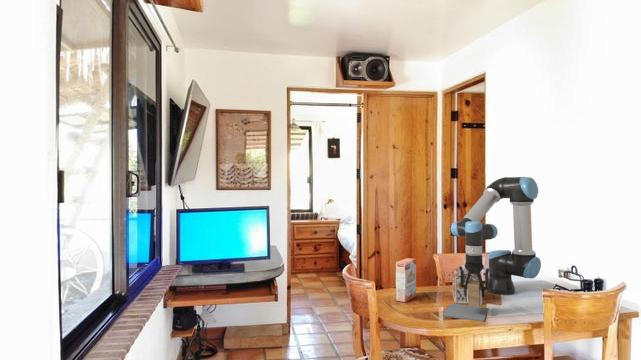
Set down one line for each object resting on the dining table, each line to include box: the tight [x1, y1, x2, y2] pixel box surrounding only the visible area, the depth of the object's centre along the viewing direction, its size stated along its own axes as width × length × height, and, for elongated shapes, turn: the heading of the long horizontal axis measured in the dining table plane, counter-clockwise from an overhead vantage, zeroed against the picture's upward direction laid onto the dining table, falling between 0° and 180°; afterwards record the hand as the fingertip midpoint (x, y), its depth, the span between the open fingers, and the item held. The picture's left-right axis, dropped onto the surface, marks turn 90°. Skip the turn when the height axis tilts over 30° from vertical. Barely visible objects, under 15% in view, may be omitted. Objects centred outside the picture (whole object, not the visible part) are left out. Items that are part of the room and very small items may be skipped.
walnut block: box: [467, 280, 481, 307], centre depth 191 cm, size 9×5×10 cm, turn 152°
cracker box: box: [395, 257, 417, 303], centre depth 217 cm, size 14×6×21 cm, turn 143°
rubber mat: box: [442, 303, 489, 323], centre depth 193 cm, size 20×18×1 cm
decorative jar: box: [452, 268, 479, 305], centre depth 212 cm, size 12×12×18 cm
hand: (474, 302), depth 191 cm, fingers closed on walnut block, 5 cm apart
